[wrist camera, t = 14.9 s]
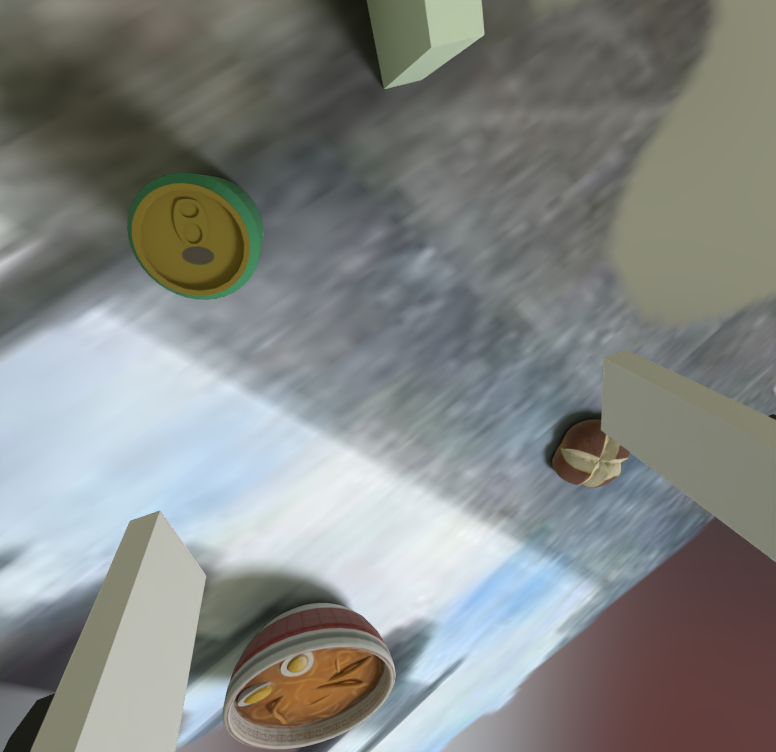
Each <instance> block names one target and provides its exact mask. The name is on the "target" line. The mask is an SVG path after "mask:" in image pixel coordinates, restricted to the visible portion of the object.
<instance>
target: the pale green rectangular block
mask: <svg viewBox="0 0 776 752" xmlns="http://www.w3.org/2000/svg"><path fill="white" fill-rule="evenodd" d="M367 5H368V10H369V15H370V21H371V26H372V31H373V36H374V41H375V46H376V51H377V56H378V61H379V67H380V72H381V77H382V82H383V87H384V89H387V88H391V87H395V86H399V85H403V84H407V83H411V82H415V81H419V80H422V79H424V78H425V77H426V76H428V75H429V74H430V73H432V72H433V71H435V70H436V69H437V68H439V67H440V66H442V65H443V64H444V63H446V62H447V61H449V60H450V59H451V58H453V57H454V56H456V55H457V54H458V53H460V52H461V51H462V50H464V49H465V48H467V47H468V46H469V45H471V44H472V43H474V42H475V41H476V40H478V39H479V38H481V37H482V36H483V35H484V25H483V14H482V3H481V0H367Z"/></svg>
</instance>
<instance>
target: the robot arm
mask: <svg viewBox="0 0 776 752" xmlns="http://www.w3.org/2000/svg"><path fill="white" fill-rule="evenodd" d="M601 431H603V432H604V433H605V434H607V435H608V436H609V437H611V438H612V439H613V440H615V441H616V442H617V443H619V444H620V445H621V446H623V447H624V448H625V449H626V450H628V451H629V452H630V453H632V454H633V455H634V456H636V457H637V458H638V459H640V460H641V461H642V462H644V463H645V464H646V465H648V466H649V467H650V468H652V469H653V470H654V471H656V472H657V473H658V474H660V475H661V476H662V477H664V478H665V479H666V480H668V481H669V482H670V483H672V484H673V485H674V486H676V487H677V488H678V489H680V490H681V491H682V492H684V493H685V494H686V495H688V496H689V497H690V498H692V499H693V500H694V501H695V502H697V503H698V504H699V505H701V506H702V507H703V508H705V509H706V510H707V511H709V512H710V513H711V514H713V515H714V516H715V517H717V518H718V519H719V520H721V521H722V522H723V523H725V524H726V525H727V526H729V527H730V528H731V529H733V530H734V531H735V532H737V533H738V534H739V535H741V536H742V537H743V538H745V539H746V540H747V541H749V542H750V543H751V544H753V545H754V546H755V547H757V548H758V549H759V550H761V551H762V552H763V553H764V554H766V555H767V556H769V557H770V558H771V559H773V560H774V561H775V562H776V415H774V414H772V415H770V416H766V415H764V414H762V413H760V412H758V411H755V410H753V409H751V408H749V407H747V406H745V405H743V404H741V403H738V402H736V401H734V400H732V399H730V398H728V397H726V396H724V395H721V394H719V393H717V392H715V391H713V390H711V389H709V388H707V387H704V386H702V385H700V384H698V383H696V382H694V381H692V380H690V379H687V378H685V377H683V376H681V375H679V374H677V373H675V372H672V371H670V370H668V369H666V368H664V367H662V366H660V365H658V364H655V363H653V362H651V361H649V360H647V359H645V358H643V357H641V356H638V355H636V354H634V353H632V352H630V351H628V350H624V351H621V352H619V353H616V354H613V355H610V356H607V357H604V369H603V392H602V416H601ZM205 580H206V575H205V573H204V572H203V571H202V569H201V568H200V566H199V565H198V563H197V562H196V561H195V559H194V558H193V556H192V555H191V554H190V552H189V551H188V549H187V548H186V546H185V545H184V544H183V542H182V541H181V539H180V538H179V537H178V535H177V534H176V532H175V531H174V530H173V528H172V527H171V525H170V524H169V522H168V521H167V520H166V518H165V517H164V515H163V514H162V513H161V511H157V512H154V513H152V514H149V515H146V516H143V517H140V518H137V519H134V520H131V521H130V522H129V524H128V527H127V529H126V531H125V534H124V536H123V538H122V541H121V543H120V545H119V548H118V550H117V552H116V554H115V557H114V559H113V561H112V564H111V566H110V568H109V571H108V573H107V575H106V578H105V580H104V582H103V584H102V587H101V589H100V591H99V594H98V596H97V598H96V601H95V603H94V605H93V608H92V610H91V612H90V615H89V617H88V619H87V621H86V624H85V626H84V628H83V631H82V633H81V635H80V638H79V640H78V642H77V645H76V647H75V649H74V652H73V654H72V656H71V658H70V661H69V663H68V665H67V668H66V670H65V672H64V675H63V677H62V679H61V682H60V684H59V686H58V689H57V691H56V693H55V694H52V695H49V696H47V697H44V698H42V699H39V700H37V701H36V703H35V704H34V705H33V707H32V708H31V709H30V711H29V712H28V713H27V715H26V716H25V718H24V719H23V720H22V722H21V723H20V725H19V726H18V727H17V729H16V730H15V731H14V733H13V734H12V735H11V737H10V738H9V740H8V742H7V745H6V747H5V749H4V751H3V752H175V750H176V745H177V739H178V733H179V728H180V722H181V716H182V711H183V705H184V699H185V694H186V688H187V682H188V677H189V671H190V665H191V660H192V654H193V648H194V643H195V637H196V631H197V626H198V620H199V614H200V609H201V603H202V597H203V592H204V586H205Z"/></svg>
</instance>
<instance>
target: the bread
mask: <svg viewBox="0 0 776 752" xmlns="http://www.w3.org/2000/svg"><path fill="white" fill-rule="evenodd" d="M629 454H630V452H629V451H628V450H626V449H625V448H624V447H623V446H621V445H620V444H619V443H617V442H616V441H615V440H613V439H612V438H611V437H609V436H608V435H607V434H605V433H604V432H603V431H601V420H598V419H592V420H585V421H582V422H579V423H577V424H575V425H573V426H572V427H571V428H570V429H569V430H568V431H567V433H566V434H565V436H564V438H563V441H562V443H561V444H560V445H559V447H558V448H557V450H556V452H555V454H554V456H553V458H552V465H553V468H554V470H555V471H556V473H557V474H558V475H559V476H560V477H561V478H562V479H564V480H565V481H567V482H569V483H572V484H575V485H578V484H581V485H583V486H585V487H588V488H594V487H600V486H603V485H605V484H607V483H609V482H611V481H612V480H614V479H615V478H617V477H618V476H619V474H620V471H621V462H622V461H624V460H626V459H628V458H629Z"/></svg>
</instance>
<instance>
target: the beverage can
mask: <svg viewBox="0 0 776 752" xmlns="http://www.w3.org/2000/svg"><path fill="white" fill-rule="evenodd" d="M128 236H129V241H130V244H131V248H132V250H133V253H134V255H135V257H136V259H137V260H138V262H139V263H140V265H141V266H142V268H143V269H144V270H145V271H146V272H147V274H148V275H149V276H150V277H151V278H152V279H154V280H155V281H156V282H157V283H158V284H160V285H161V286H163V287H164V288H166V289H167V290H169V291H171V292H174V293H176V294H178V295H181V296H184V297H187V298H193V299H203V300H208V299H217V298H220V297H224V296H227V295H229V294H231V293H233V292H235V291H236V290H238V289H240V288H241V287H242V286H243V285H244V284H245V283H246V282H247V281H248V280H249V278H250V277H251V276H252V274H253V272H254V270H255V268H256V266H257V263H258V259H259V255H260V251H261V246H262V241H263V223H262V218H261V215H260V212H259V210H258V208H257V206H256V205H255V203H254V202H253V200H252V199H251V198H250V196H249V195H248V194H247V193H246V192H245V191H244V190H242V189H241V188H240V187H239V186H237V185H236V184H234V183H232V182H230V181H228V180H226V179H223V178H219V177H215V176H208V175H200V174H193V173H173V174H168V175H164V176H162V177H159V178H157V179H155V180H153V181H151V182H150V183H148V184H147V185H146V186H145V187H144V188H143V189H142V190H141V191H140V192H139V193H138V194H137V196H136V197H135V199H134V201H133V203H132V205H131V208H130V211H129V216H128Z"/></svg>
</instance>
